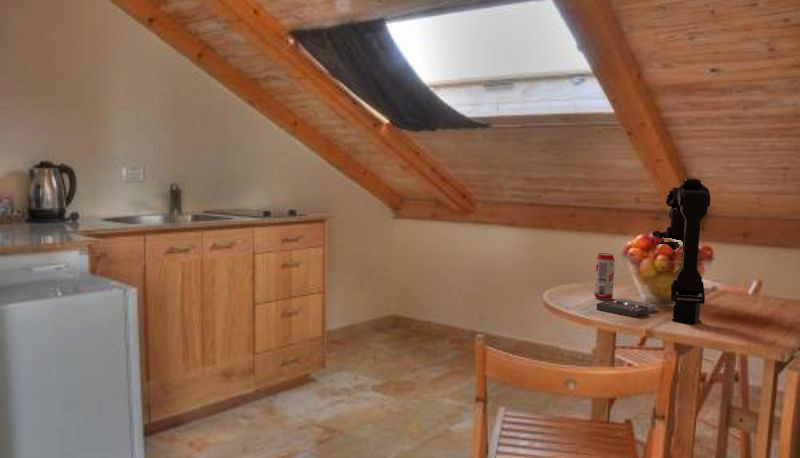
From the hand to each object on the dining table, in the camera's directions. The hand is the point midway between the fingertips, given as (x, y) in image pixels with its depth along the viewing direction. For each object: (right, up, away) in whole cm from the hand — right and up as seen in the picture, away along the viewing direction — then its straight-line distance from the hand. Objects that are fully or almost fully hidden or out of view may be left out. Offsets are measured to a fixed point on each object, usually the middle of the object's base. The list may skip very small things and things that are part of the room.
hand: (676, 269), depth 218 cm
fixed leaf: (-23, -13, -12) cm, 29 cm away
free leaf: (-18, -13, -7) cm, 23 cm away
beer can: (-23, -11, +8) cm, 26 cm away
